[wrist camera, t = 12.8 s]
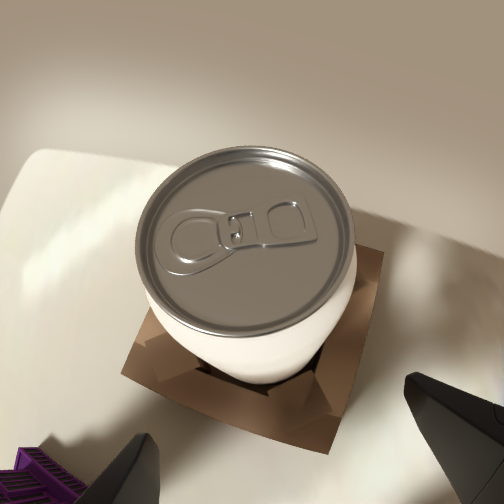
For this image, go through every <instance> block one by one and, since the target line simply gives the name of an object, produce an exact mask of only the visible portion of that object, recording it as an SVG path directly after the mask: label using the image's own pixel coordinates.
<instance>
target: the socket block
mask: <svg viewBox="0 0 504 504" xmlns="http://www.w3.org/2000/svg"><path fill="white" fill-rule="evenodd" d="M355 248H356V256H357V270H356V278H355V283H354V287H353V290H352V294H351V297H350V299H349V302H348V304H347V306H346V308H345V310H344V312H343V314H342V315H341V317H340V319H339V321H338V322H337V324H336V325H335V327H334V328H333V330H332V331H331V333H330V334H329V335H328V337H327V338H326V340H325V341H324V342H323V344H322V345H321V346H320V348H319V349H318V351H317V352H316V353H315V354H314V356H313V357H312V358H311V360H310V361H309V362H308V363H307V364H306V366H305V367H304V368H303V369H302V370H300V371H299V372H298V373H297V374H295V375H294V376H292V377H291V378H289V379H287V380H285V381H282V382H279V383H275V384H270V385H255V384H250V383H246V382H243V381H240V380H238V379H236V378H234V377H232V376H230V375H228V374H227V373H225V372H223V371H221V370H219V369H218V368H216V367H214V366H213V365H211V364H209V363H208V362H206V361H204V360H203V359H201V358H200V357H198V356H197V355H195V354H193V353H192V352H190V351H189V350H188V349H186V348H185V347H184V346H182V345H181V344H180V343H179V342H177V341H176V340H175V339H174V338H173V337H172V336H171V335H170V334H169V333H168V332H167V330H166V329H165V328H164V327H163V326H162V324H161V323H160V322H159V320H158V319H157V317H156V315H155V314H154V312H153V310H152V308H151V306H150V308H149V310H148V313H147V315H146V317H145V319H144V321H143V323H142V326H141V328H140V330H139V332H138V335H137V337H136V339H135V341H134V344H133V346H132V348H131V350H130V353H129V355H128V357H127V360H126V362H125V364H124V367H123V369H122V371H121V374H122V375H124V376H126V377H128V378H129V379H131V380H133V381H135V382H137V383H139V384H141V385H143V386H144V387H146V388H148V389H150V390H152V391H154V392H156V393H158V394H160V395H162V396H164V397H167V398H169V399H171V400H173V401H175V402H177V403H179V404H181V405H184V406H186V407H188V408H190V409H193V410H195V411H197V412H200V413H202V414H204V415H207V416H209V417H212V418H214V419H217V420H219V421H222V422H224V423H227V424H229V425H232V426H235V427H237V428H240V429H243V430H246V431H249V432H251V433H254V434H257V435H260V436H263V437H266V438H269V439H272V440H276V441H279V442H282V443H286V444H289V445H292V446H296V447H299V448H303V449H307V450H311V451H315V452H319V453H323V454H327V455H328V454H329V451H330V449H331V446H332V443H333V441H334V438H335V435H336V433H337V430H338V427H339V424H340V422H341V419H342V416H343V413H344V410H345V407H346V404H347V401H348V398H349V395H350V392H351V389H352V385H353V382H354V379H355V376H356V372H357V369H358V365H359V362H360V358H361V354H362V351H363V347H364V343H365V339H366V335H367V331H368V327H369V323H370V319H371V315H372V310H373V306H374V301H375V297H376V292H377V287H378V282H379V277H380V272H381V266H382V260H383V255H384V252H381V251H378V250H374V249H371V248H368V247H364V246H361V245H358V244H355Z"/></svg>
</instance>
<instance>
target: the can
mask: <svg viewBox="0 0 504 504" xmlns="http://www.w3.org/2000/svg"><path fill="white" fill-rule="evenodd" d="M135 256H136V263H137V268H138V271H139V274H140V277H141V280H142V282H143V284H144V286H145V291H146V294H147V298H148V301H149V303H150V306H151V308H152V310H153V312H154V314H155V315H156V317H157V319H158V320H159V322H160V323H161V324H162V326H163V327H164V328H165V329H166V330H167V332H168V333H169V334H170V335H171V336H172V337H173V338H174V339H175V340H176V341H177V342H179V343H180V344H181V345H182V346H184V347H185V348H186V349H188V350H189V351H190V352H192V353H193V354H195V355H197V356H198V357H200V358H201V359H203V360H204V361H206V362H208V363H209V364H211V365H213V366H214V367H216V368H218V369H219V370H221V371H223V372H225V373H227V374H228V375H230V376H232V377H234V378H236V379H238V380H240V381H243V382H246V383H250V384H255V385H270V384H275V383H279V382H282V381H285V380H287V379H289V378H291V377H292V376H294V375H295V374H297V373H298V372H299V371H300V370H302V369H303V368H304V367H305V366H306V364H307V363H308V362H309V361H310V360H311V358H312V357H313V356H314V354H315V353H316V352H317V351H318V349H319V348H320V346H321V345H322V344H323V342H324V341H325V340H326V338H327V337H328V335H329V334H330V333H331V331H332V330H333V328H334V327H335V325H336V324H337V322H338V321H339V319H340V317H341V315H342V314H343V312H344V310H345V308H346V306H347V304H348V302H349V299H350V297H351V294H352V290H353V287H354V283H355V278H356V270H357V256H356V248H355V229H354V221H353V217H352V213H351V210H350V207H349V205H348V202H347V200H346V198H345V196H344V195H343V193H342V191H341V190H340V188H339V187H338V186H337V184H336V183H335V182H334V181H333V180H332V178H331V177H329V175H328V174H326V173H325V172H324V171H323V170H322V169H321V168H319V167H318V166H316V165H315V164H313V163H312V162H310V161H308V160H307V159H304V158H303V157H301V156H299V155H296V154H294V153H291V152H288V151H285V150H281V149H277V148H272V147H265V146H237V147H231V148H225V149H221V150H217V151H213V152H210V153H208V154H205V155H203V156H200V157H198V158H196V159H194V160H192V161H190V162H188V163H186V164H185V165H183V166H182V167H180V168H179V169H177V170H176V171H175V172H173V173H172V174H171V175H170V176H169V177H168V178H167V179H166V180H164V181H163V183H162V184H161V185H160V186H159V187H158V188H157V189H156V191H155V192H154V193H153V195H152V196H151V198H150V199H149V201H148V202H147V204H146V206H145V208H144V210H143V212H142V215H141V217H140V220H139V223H138V227H137V232H136V239H135Z"/></svg>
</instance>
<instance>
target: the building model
mask: <svg viewBox="0 0 504 504" xmlns="http://www.w3.org/2000/svg"><path fill="white" fill-rule="evenodd" d="M87 488H88V486H86V485H85V484H83V483H82V482H81V481H79V480H78V479H76V478H75V477H74V476H72V475H71V474H70V473H68V472H67V471H66V470H64V469H63V468H62V467H61V466H59V465H58V464H57V463H56V462H54V461H53V460H52V459H51V458H49V457H48V456H47V455H46V454H45V453H44V452H42V451H41V450H40V449H39V448H38V447H19V448H18V452H17V456H16V461H15V465H14V470H0V504H73V503H74V502H75V501H76V500H77V499H78V498H79V497H80V496H81V495H83V493H84V492H85V491H86V490H87Z"/></svg>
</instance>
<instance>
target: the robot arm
mask: <svg viewBox="0 0 504 504" xmlns="http://www.w3.org/2000/svg"><path fill="white" fill-rule="evenodd" d="M404 397H405V399H406V401H407V404H408V406H409V408H410V410H411V412H412V415H413V417H414V419H415V421H416V424H417V426H418V428H419V430H420V432H421V433H422V435H423V437H424V438H425V440H426V442H427V443H428V445H429V447H430V448H431V450H432V452H433V454H434V455H435V457H436V459H437V460H438V462H439V464H440V466H441V467H442V469H443V471H444V472H445V474H446V476H447V478H448V479H449V481H450V483H451V485H452V487H453V488H454V490H455V492H456V494H457V495H458V497H459V499H460V501H461V503H462V504H504V407H503V406H500V405H497V404H495V403H494V404H493V403H492V402H490V401H487V400H484V399H482V398H479V397H477V396H474V395H472V394H469V393H467V392H464V391H462V390H460V389H457V388H455V387H452V386H450V385H447V384H445V383H443V382H440V381H438V380H436V379H433V378H431V377H428V376H426V375H424V374H421V373H419V372H413V373H411V374H409V375H407V376H406V378H405V385H404ZM159 494H160V473H159V450H158V447H157V445H156V444H155V442H154V440H153V439H152V437H151V436H150V434H148V433H137V434H136V435H135V436H134V437H133V438H132V439H131V441H130V442H129V443H128V444H127V445H126V446H125V447H124V448H123V450H122V451H121V452H120V453H119V454H118V455H117V456H116V457H115V459H114V460H113V461H112V462H111V463H110V464H109V465H108V466H107V468H106V469H105V470H104V471H103V472H102V473H101V474H100V475H99V476H98V477H97V479H96V480H95V481H94V482H93V483H92V484H91V485H90V486H89V487H88V488H87V490H86V491H85V492H84V493H83V495H81V496H80V497H79V498H78V499H77V500H76V501H75V502H74V503H73V504H159Z"/></svg>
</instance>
